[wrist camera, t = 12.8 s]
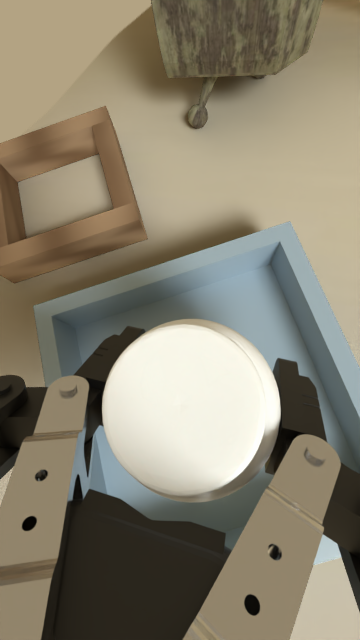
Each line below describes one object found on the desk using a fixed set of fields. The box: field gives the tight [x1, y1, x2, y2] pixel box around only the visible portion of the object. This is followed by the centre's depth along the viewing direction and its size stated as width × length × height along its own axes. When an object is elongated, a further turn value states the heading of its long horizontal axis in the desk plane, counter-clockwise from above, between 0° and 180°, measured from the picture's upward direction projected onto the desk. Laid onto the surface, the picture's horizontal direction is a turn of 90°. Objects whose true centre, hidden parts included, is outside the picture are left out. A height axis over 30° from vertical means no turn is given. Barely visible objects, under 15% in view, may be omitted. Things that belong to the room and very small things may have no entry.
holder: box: [0, 106, 148, 283], centre depth 23 cm, size 11×11×2 cm
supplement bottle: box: [102, 319, 281, 502], centre depth 12 cm, size 6×6×10 cm
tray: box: [33, 221, 360, 565], centre depth 17 cm, size 16×16×4 cm
